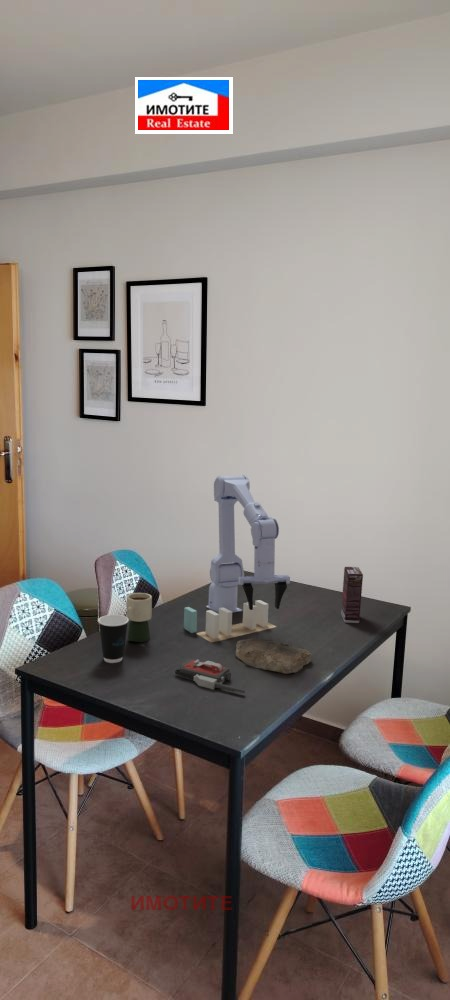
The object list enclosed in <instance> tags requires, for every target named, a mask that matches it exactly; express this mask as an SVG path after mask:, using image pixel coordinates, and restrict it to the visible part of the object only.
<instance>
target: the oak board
mask: <svg viewBox="0 0 450 1000" xmlns="http://www.w3.org/2000/svg"><path fill="white" fill-rule="evenodd" d="M274 628H277V625H274V624H272V623H270V622H268V626H267V627H262V626H260V625H258V624H256V629H254V630H251V629H249V628H247V627H245V626H243V622H240V623H236V624H232V632H231V635H228V636H226V635H225V634H223V633H221V632H219V638H216V639H214V638H212V637H210V636H208V635H207V634H205V633H206V630H205V631H200V632H195V634H196V635H198V636H199V637H201V638H203V639H204V640H206V641H208V642H209V643H215V642H219V641H224V640H228V639H232V638H235V637H236V638H237V637H239V636H244V635H249V634H253V633H259V632H262V631H266V630H270V629H274Z"/></svg>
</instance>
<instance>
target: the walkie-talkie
mask: <svg viewBox="0 0 450 1000" xmlns="http://www.w3.org/2000/svg"><path fill="white" fill-rule="evenodd" d="M174 673H175V675H177V676H179V677H180V678H181V679H186V680H189V681H190V680H191V681H194V683H196V684H197V686H199V687H203V688H206V689H210V690H215V689H222V690H227V691H229V692H239V693H241V694H245V693H246V691H245V689H243V688H240V687H239V688H238V687H235V686H231V685H226V684H223V683H225V682H226V681H230V679H231V677H232V673H231V671H230V668H229V667H225V666H223V665H222V664H221V663H220V662H214V661H211V660H206V661H200V659H191V658H189V659H187V660H186V661H184V662H183V663H182V664H180V665H179V669H175V670H174Z"/></svg>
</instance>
